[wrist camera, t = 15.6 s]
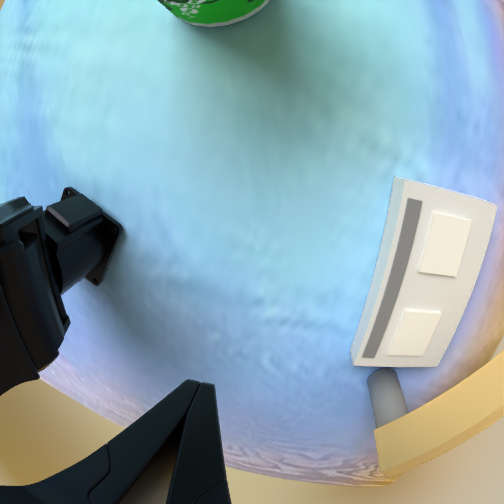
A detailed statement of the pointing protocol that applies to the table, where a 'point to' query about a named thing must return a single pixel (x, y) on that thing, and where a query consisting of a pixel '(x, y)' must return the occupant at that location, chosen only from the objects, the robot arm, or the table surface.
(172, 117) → the table surface
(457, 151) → the table surface
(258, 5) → the soda can
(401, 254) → the white flat block
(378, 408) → the bar
